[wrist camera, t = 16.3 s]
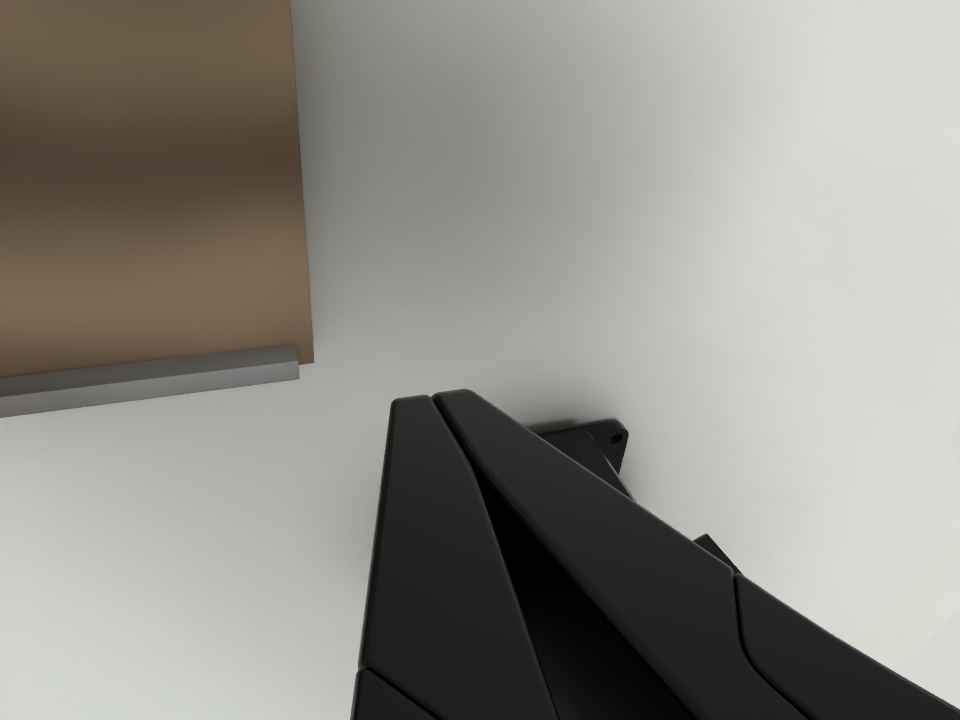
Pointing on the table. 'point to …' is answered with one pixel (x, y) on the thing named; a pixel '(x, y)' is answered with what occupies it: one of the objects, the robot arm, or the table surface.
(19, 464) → the table surface
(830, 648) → the robot arm
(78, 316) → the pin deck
